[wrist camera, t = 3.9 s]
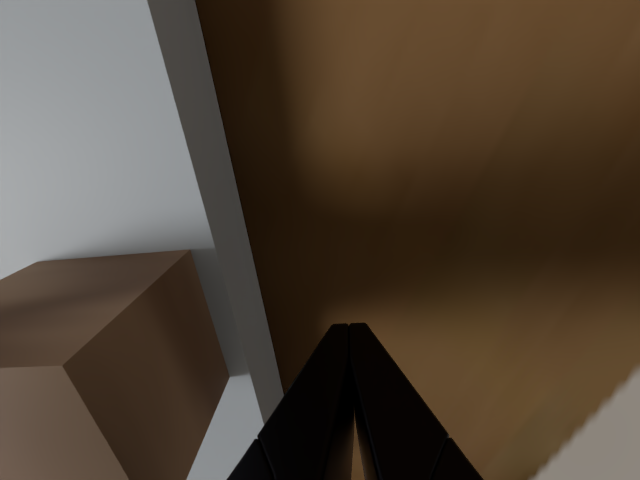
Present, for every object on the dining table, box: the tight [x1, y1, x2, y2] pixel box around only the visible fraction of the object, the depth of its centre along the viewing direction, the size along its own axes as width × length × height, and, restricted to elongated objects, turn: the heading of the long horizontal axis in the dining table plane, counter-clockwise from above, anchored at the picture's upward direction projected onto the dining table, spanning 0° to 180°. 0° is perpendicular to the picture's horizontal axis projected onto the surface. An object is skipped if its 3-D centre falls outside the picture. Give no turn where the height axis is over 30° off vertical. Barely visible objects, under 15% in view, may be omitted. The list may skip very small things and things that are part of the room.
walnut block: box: [0, 249, 230, 480], centre depth 7 cm, size 5×5×4 cm
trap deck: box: [0, 0, 284, 480], centre depth 11 cm, size 18×20×2 cm
